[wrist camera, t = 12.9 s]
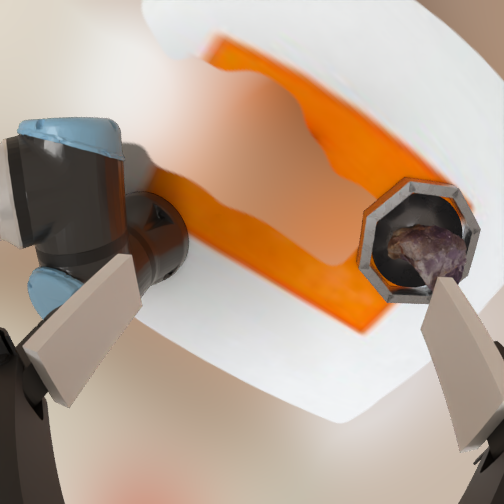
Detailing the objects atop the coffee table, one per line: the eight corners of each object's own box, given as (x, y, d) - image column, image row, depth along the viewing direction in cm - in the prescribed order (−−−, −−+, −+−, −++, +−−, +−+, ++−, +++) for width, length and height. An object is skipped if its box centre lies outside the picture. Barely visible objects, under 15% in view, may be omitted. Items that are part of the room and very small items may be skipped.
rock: (418, 280, 46) (460, 238, 41) (437, 316, 38) (486, 269, 34) (374, 243, 42) (421, 193, 38) (392, 279, 35) (450, 221, 30)
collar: (351, 292, 48) (352, 300, 46) (367, 172, 39) (371, 176, 37) (452, 296, 45) (457, 304, 43) (480, 189, 37) (488, 193, 34)
